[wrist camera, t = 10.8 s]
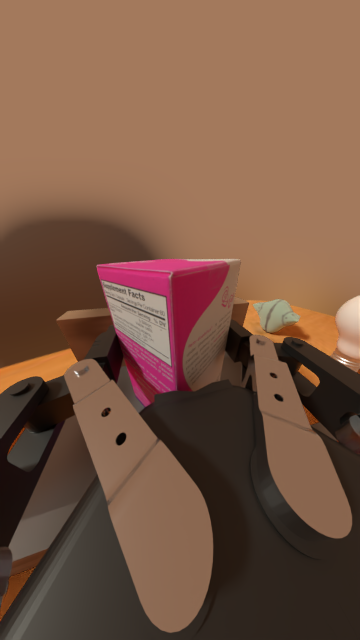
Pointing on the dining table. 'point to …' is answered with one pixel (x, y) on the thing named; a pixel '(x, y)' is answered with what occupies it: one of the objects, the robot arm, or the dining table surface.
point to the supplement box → (171, 320)
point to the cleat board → (82, 445)
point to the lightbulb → (348, 334)
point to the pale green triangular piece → (275, 315)
